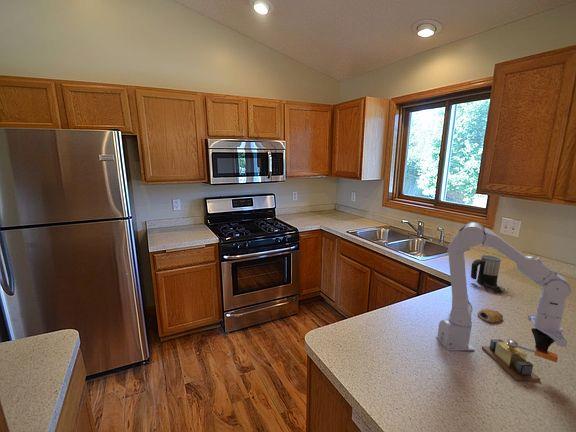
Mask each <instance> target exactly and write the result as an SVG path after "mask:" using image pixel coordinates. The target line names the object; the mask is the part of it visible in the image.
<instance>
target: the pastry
mask: <svg viewBox="0 0 576 432" xmlns="http://www.w3.org/2000/svg"><path fill="white" fill-rule="evenodd" d="M477 316H478V318H479V319H481V320H484V321H486V322H489V323H492V324H493V323H498V322H500V321H502V320H503V317H504V316H503V314H502V313H500V312H499V311H497V310H494V309H489V308H485V309H483V308H482V309H480V311H478V312H477Z"/></svg>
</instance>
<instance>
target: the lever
mask: <svg viewBox="0 0 576 432" xmlns="http://www.w3.org/2000/svg"><path fill="white" fill-rule="evenodd" d="M506 342H507V345H508V346H510V347H512V348H517V347H518V348H520V349H521V350H523V351H528V352H531V353H534V356H536V357H539V358H542V359H545V360H548V361H551V362H554V363H558V359H559V358H558V354H557V353H556V352H555V353H554V352H552V351H549V350H548V351H546V350H543V349H540V348H537V347H535V346H534V347H530V346H527V345H523V344H520V343H518V341H516V340H514V339H510V338H508V339H507V341H506Z"/></svg>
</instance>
